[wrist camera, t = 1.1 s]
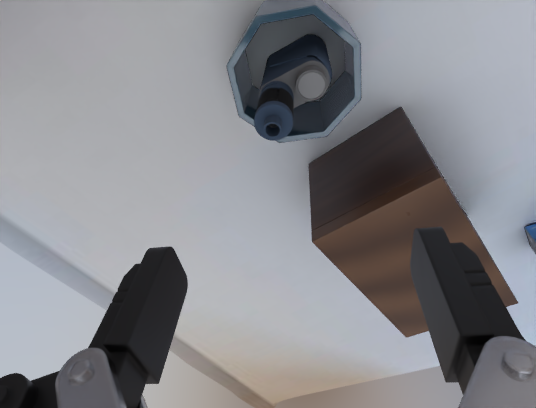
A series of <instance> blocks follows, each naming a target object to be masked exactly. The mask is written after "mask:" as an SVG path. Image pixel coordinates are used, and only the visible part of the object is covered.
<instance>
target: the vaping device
mask: <svg viewBox="0 0 536 408" xmlns="http://www.w3.org/2000/svg"><path fill="white" fill-rule="evenodd" d="M331 79H332V69H331V65H330V61H329V57H328V52H327V48H326V45H325V43H324V41H323V40H322V39H321V38H320V37H319V36H316V35H306V36H304V37H302V38H300V39H298V40H297V41H295V42H293V43H291V44H290V45H288V46H286V47H284V48H282V49H281V50H279V51H277V52H275V53H274V54H272V55H270V56H269V58H268V60H267V63H266V68H265V72H264V76H263V80H262V84H261V88H260V91H259V101H258V105H257V109H256V114H255V118H254V126H255V129H256V131H257V132H258V134H259V135H260V136H262V137H263V138H265V139H268V140H280V139H283V138H285V137H286V136H287V135H288V134H289V133H290V132H291V130H292V127H293V109H294V108H295V107H297V106H299V105H301V104H304V103H306V102H308V101H314V100H317V99H319V98H321V97H322V96H323V95H324V94H325V92H326V90H327V89H328V87H329V84H330V82H331Z"/></svg>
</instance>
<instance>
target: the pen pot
mask: <svg viewBox="0 0 536 408" xmlns="http://www.w3.org/2000/svg"><path fill="white" fill-rule="evenodd" d="M312 14H313V15H315V16H316V17H317V18H318V19H319V20H320V21H322V22H323V23H324V24H325V25H326V26H328V27H329V28H330V29H331V30H332V31H334V32H335V33H336V34H337V35H338V36H340V37H341V38H342V39H343V40H344V50H345V71H344V73H343V74H342V75H341V76H340V77H339V79H338V80H337V81H336V82H335V83H334V85H333V86H332V87H331V88H330V89H329V91H328V92H327V93H326V94H325V95H324V97H323V98H322V99H321V100H320V101H317V102H310V103H304V104H301V105H299V106H297V107H295V108H294V109H293V127H292V130H291V132H290V133H289V134H288V135H287V136H286V137H285V138H283V139H280V140H275V141H277V142H279V143H282V142H290V141H298V140H305V139H313V138H321V137H326V136H328V135H329V134H330V133H331V131H332V130H333V129H334V128H335V127H336V126H337V125H338V124H339V123H340V122H341V121H342V119H343V118H344V117H345V116H346V115H347V114H348V113H349V112H350V111H351V110H352V108H353V107H354V106H355V105H356V104H357V103H358V102H359V101H360V100H361V98H362V97H361V44H360V42H359V40H358V38H357V36H356V34H355V32H354V31H353V29H352V27H351V25H350V23H349V22H348V21H347V20H345V19H344V18H343V17H342V16H341V15H340V14H338V13H337V12H336V11H335V10H334V9H333V8H332V7H330V6H329V5H328V4H327V3H326V2H325V1H323V0H265V1H263V2H262V4H261V6H260V7H259V9H258V11H257V12H256V14H255V16H254V18H253V19H252V21H251V23H250V24H249V26H248V28H247V29H246V31H245V33H244V34H243V36H242V38H241V39H240V41H239V43H238V44H237V46H236V48H235V50H234V52H233V54H232V56H231V58H230V60H229V62H228V63H227V71H228V75H229V79H230V83H231V87H232V91H233V95H234V99H235V103H236V107H237V111H238V115H239V117H241V118H242V119H244V120H245V121H247V122H248V123H250V124H251V125H253V126H254V118H255V114H256V109H257V105H258V101H259V91H260V90H259V89H258V88H256V87H255V86H253V84H252V79H251V75H250V70H249V65H248V60H247V55H246V51H245V49H246V47H247V46H248V44H249V43H250V41H251V39H252V38H253V36H254V34H255V33H256V31H257V30H258V28H259V26H260V25H261V24H264V23H270V22H275V21H280V20H286V19H291V18H296V17H302V16H307V15H312ZM254 127H255V126H254Z"/></svg>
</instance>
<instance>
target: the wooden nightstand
mask: <svg viewBox="0 0 536 408" xmlns="http://www.w3.org/2000/svg"><path fill="white" fill-rule="evenodd" d="M309 184H310V206H311V228H312V242H313V243H314V244H315V245H316V246H317V247H318V248H319V249H320V250H321V251H322V252H323V253H324V255H325V256H326V257H327V258H328V259H329V260H330V261H331V262H332V263H333V264H334V265H335V266H336V267H337V268H338V269H339V270H340V271H341V272H342V273H343V274H344V275H345V276H346V277H347V278H348V279H349V280H350V281H351V282H352V283H353V284H354V285H355V286H356V287H357V288H358V289H359V290H360V291H361V292H362V293H363V294H364V295H365V296H366V297H367V298H368V299H369V300H370V301H371V302H372V303H373V304H374V305H375V306H376V307H377V308H378V309H379V310H380V311H381V312H382V313H383V314H384V315H385V316H386V317H387V318H388V319H389V320H390V321H391V322H392V323H393V324H394V325H395V327H396V328H397V329H398V330H399V331H400V332H401V333H402V334H403V335H404V336H405V337H410V336H413V335H416V334H420V333H423V332H426V331H429V329H428V326H427V323H426V320H425V317H424V314H423V311H422V308H421V305H420V302H419V299H418V296H417V293H416V289H415V286H414V283H413V280H412V276H411V270H410V259H411V250H412V242H413V234H414V230H415V229H416V228H429V227H442V228H443V229H444V231H445V233H446V235H447V237H448V239H449V241H450V243H460V242H463V243H464V244H465V245H466V246H467V247H468V248H470V249H471V250H472V251H473V252H474V253H476V254H477V256H478V258H479V259H480V261H481V263H482V265H483V267H484V269H485V272H486V273H487V274H488V276H489V278H490V279H491V281H492V285H494V287H495V289H496V290H497V292H498V294H499V296H500V298H501V299H502V301H503V303H504V305H505V307H507V306H510V305H514V304H517V303H518V301H517V300H516V298H515V296H514V295H513V293H512V291H511V290H510V288H509V286H508V284H507V283H506V281H505V279H504V278H503V276H502V274H501V273H500V271H499V269H498V267H497V266H496V264H495V262H494V261H493V259H492V257H491V256H490V254H489V252H488V251H487V249H486V247H485V245H484V244H483V242H482V240H481V239H480V237H479V235H478V234H477V232H476V230H475V229H474V227H473V225H472V223H471V222H470V220H469V218H468V217H467V215H466V213H465V212H464V211H463V209H462V207H461V206H460V204H459V202H458V201H457V199H456V197H455V196H454V194H453V192H452V191H451V189H450V187H449V186H448V184H447V182H446V181H445V179H444V177H443V176H442V174H441V173H440V171H439V169H438V168H437V166H436V164H435V163H434V161H433V159H432V158H431V156H430V154H429V153H428V151H427V149H426V148H425V146H424V144H423V143H422V141H421V139H420V138H419V136H418V134H417V133H416V131H415V129H414V127H413V126H412V124H411V122H410V121H409V119H408V117H407V116H406V114H405V112H404V111H403V109H402V107H399V108H398V109H396V110H395V111H393V112H391V113H390V114H388V115H387V116H385V117H383V118H382V119H380V120H379V121H377V122H375V123H374V124H372V125H371V126H369V127H367V128H366V129H364V130H362V131H361V132H359V133H358V134H356V135H354V136H353V137H351V138H350V139H348V140H346V141H345V142H343V143H342V144H340V145H338V146H337V147H335V148H334V149H332V150H330V151H329V152H327V153H326V154H324V155H322V156H321V157H319V158H317V159H316V160H314V161H313V162H311V163H309Z"/></svg>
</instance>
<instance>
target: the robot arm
mask: <svg viewBox="0 0 536 408" xmlns="http://www.w3.org/2000/svg"><path fill="white" fill-rule="evenodd" d="M410 270H411V276H412V280H413V283H414V286H415V289H416V293H417V296H418V299H419V302H420V305H421V308H422V311H423V314H424V317H425V320H426V323H427V326H428V329H429V332H430V335H431V338H432V342H433V345H434V348H435V351H436V354H437V357H438V360H439V363H440V366H441V369H442V372H443V375H444V378H445V381H446V382H459V385H460V387H461V390H462V393H463V397H462V400H461V402H460V404H459V407H458V408H536V347H535V346H534V345H532V344H530V343H528V342H527V341H526V340H525V339H524V338H523V337H522V335H521V334H520V332H519V330H518V329H517V327H516V325H515V323H514V321H513V319H512V318H511V316H510V314H509V312H508V310H507V309H506V307H505V305H504V303H503V301H502V299H501V298H500V296H499V294H498V292H497V290H496V289H495V287H494V285H492V281H491V279H490V278H489V276H488V274H487V273H486V272H485V269H484V267H483V265H482V263H481V261H480V259H479V258H478V256H477V254H476V253H474V252H473V251H472V250H471V249H470V248H468V247H467V246H466V245H465V244H464V243H463V242H460V243H450V241H449V239H448V237H447V235H446V233H445V231H444V229H443V228H442V227H429V228H416V229H415V230H414V234H413V242H412V250H411V259H410ZM187 287H188V282H187V276H186V273H185V271H184V269H183V267H182V265H181V263H180V261H179V259H178V257H177V255H176V253H175V251H174V249H173V248H172V247H158V248H149V249H148V250H147V251H146V253H145V255H144V258H143V260H142V262H141V264H135V265H134V266H133V267H132V268H131V269H130V271H129V272H128V273H127V274H126V275H125V276H124V278H123V280H122V282H121V284H120V286H119V288H118V292H116V294H115V296H114V298H113V300H112V303H111V304H110V306H109V308H108V310H107V312H106V314H105V316H104V318H103V320H102V322H101V324H100V326H99V328H98V330H97V332H96V334H95V336H94V338H93V340H92V342H91V344H90V346H89V347H88V349H85V350H82V351H80V352H78V353H77V354H75V355H74V356H72V357H71V358H70V359H69V360H68V361H67V362H66V363H65V364H64V365H63V367H62V368H61V370H60V371H58V372H55V373H52V374H49V375H46V376H43V377H41V378H38V379H35V380H32V381H29V380H28V379H27V378H26V377H25V376H23V375H22V374H18V373H14V374H9V375H6V376H4V377H2V378H0V408H147V405H146V402H145V399H144V397H143V395H142V393H143V390H144V387H145V384H158V383H159V381H160V378H161V374H162V371H163V368H164V365H165V362H166V358H167V355H168V352H169V348H170V345H171V342H172V339H173V335H174V332H175V329H176V326H177V322H178V319H179V316H180V312H181V309H182V306H183V303H184V299H185V296H186V293H187Z"/></svg>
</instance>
